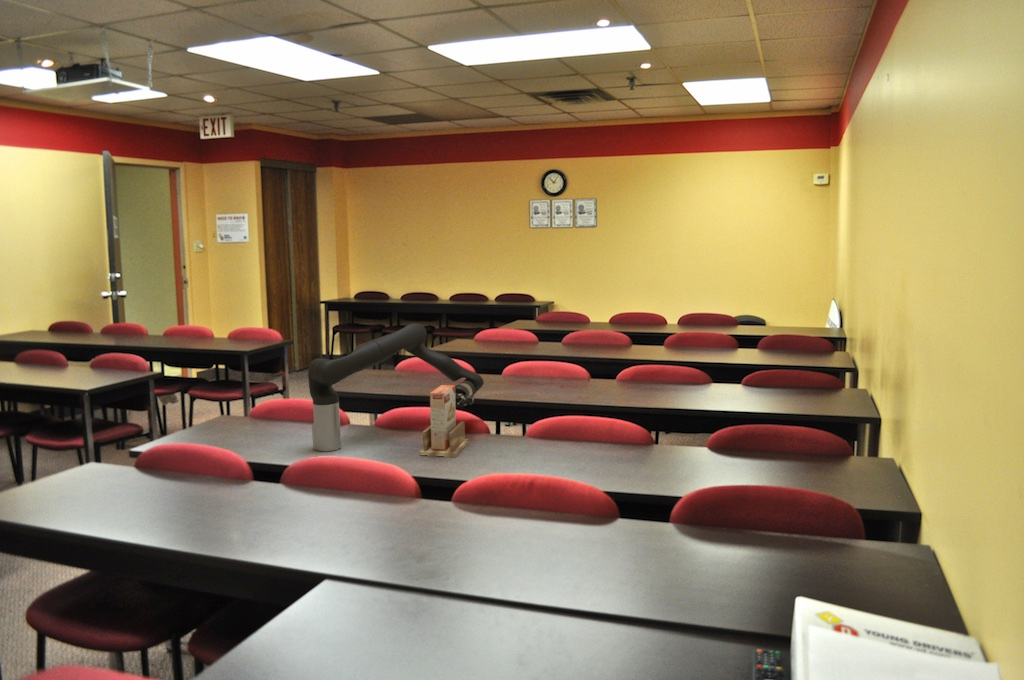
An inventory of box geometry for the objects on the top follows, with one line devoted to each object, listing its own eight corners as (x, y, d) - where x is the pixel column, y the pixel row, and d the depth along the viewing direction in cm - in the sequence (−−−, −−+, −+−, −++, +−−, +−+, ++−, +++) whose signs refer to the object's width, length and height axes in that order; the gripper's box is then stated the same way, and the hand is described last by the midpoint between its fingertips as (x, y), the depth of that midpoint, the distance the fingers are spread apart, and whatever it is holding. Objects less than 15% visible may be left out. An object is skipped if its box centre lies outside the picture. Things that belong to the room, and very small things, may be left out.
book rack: (419, 455, 273) (418, 432, 271) (434, 441, 290) (434, 419, 289) (455, 457, 270) (454, 433, 269) (468, 442, 288) (467, 420, 286)
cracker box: (446, 450, 273) (445, 393, 270) (430, 450, 274) (428, 392, 271) (457, 439, 287) (455, 384, 283) (441, 439, 288) (440, 384, 285)
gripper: (442, 384, 301) (430, 393, 285) (478, 385, 298) (467, 394, 282) (443, 403, 302) (430, 413, 286) (478, 404, 299) (468, 414, 284)
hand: (449, 404), depth 284 cm, fingers open, 8 cm apart
